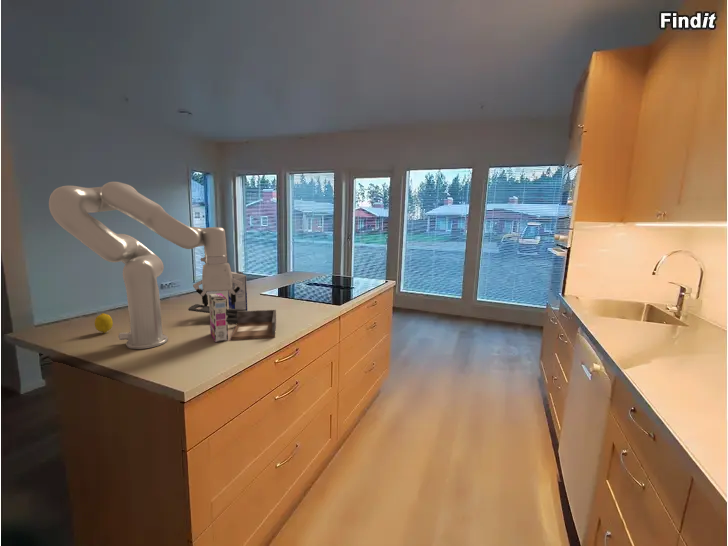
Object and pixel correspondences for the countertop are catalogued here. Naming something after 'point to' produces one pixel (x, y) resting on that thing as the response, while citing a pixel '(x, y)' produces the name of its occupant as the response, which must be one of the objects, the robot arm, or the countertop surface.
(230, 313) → the dark grey spatula
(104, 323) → the lemon
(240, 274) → the milk carton
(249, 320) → the brown square tray
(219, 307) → the candy bar box
